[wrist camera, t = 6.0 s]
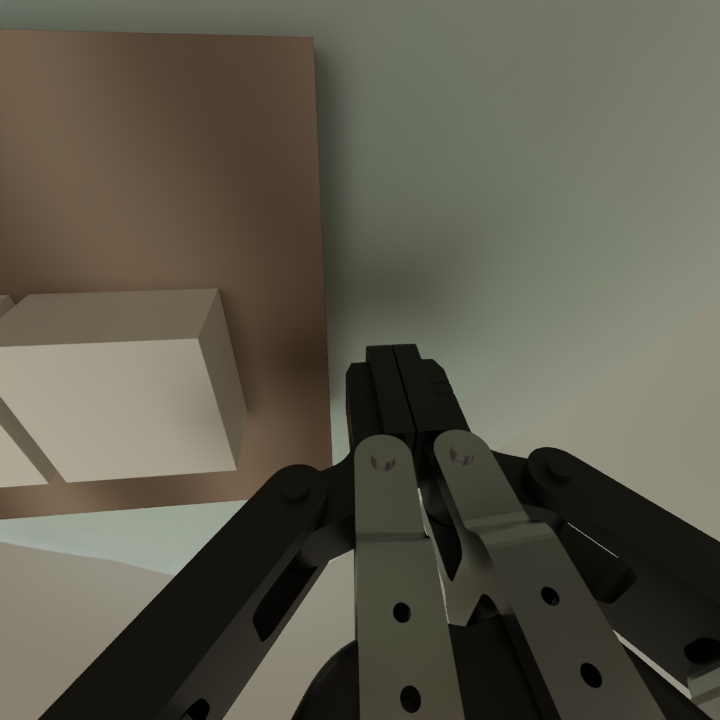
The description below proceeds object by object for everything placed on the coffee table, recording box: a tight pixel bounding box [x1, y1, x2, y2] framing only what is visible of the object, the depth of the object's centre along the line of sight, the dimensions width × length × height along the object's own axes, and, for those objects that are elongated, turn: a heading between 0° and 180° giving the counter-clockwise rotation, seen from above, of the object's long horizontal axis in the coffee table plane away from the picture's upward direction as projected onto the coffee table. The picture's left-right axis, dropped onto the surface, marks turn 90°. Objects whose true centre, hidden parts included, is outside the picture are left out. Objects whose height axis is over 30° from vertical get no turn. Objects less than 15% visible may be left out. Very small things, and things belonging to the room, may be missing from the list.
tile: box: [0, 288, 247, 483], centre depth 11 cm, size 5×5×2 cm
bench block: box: [0, 29, 333, 520], centre depth 14 cm, size 16×16×6 cm
